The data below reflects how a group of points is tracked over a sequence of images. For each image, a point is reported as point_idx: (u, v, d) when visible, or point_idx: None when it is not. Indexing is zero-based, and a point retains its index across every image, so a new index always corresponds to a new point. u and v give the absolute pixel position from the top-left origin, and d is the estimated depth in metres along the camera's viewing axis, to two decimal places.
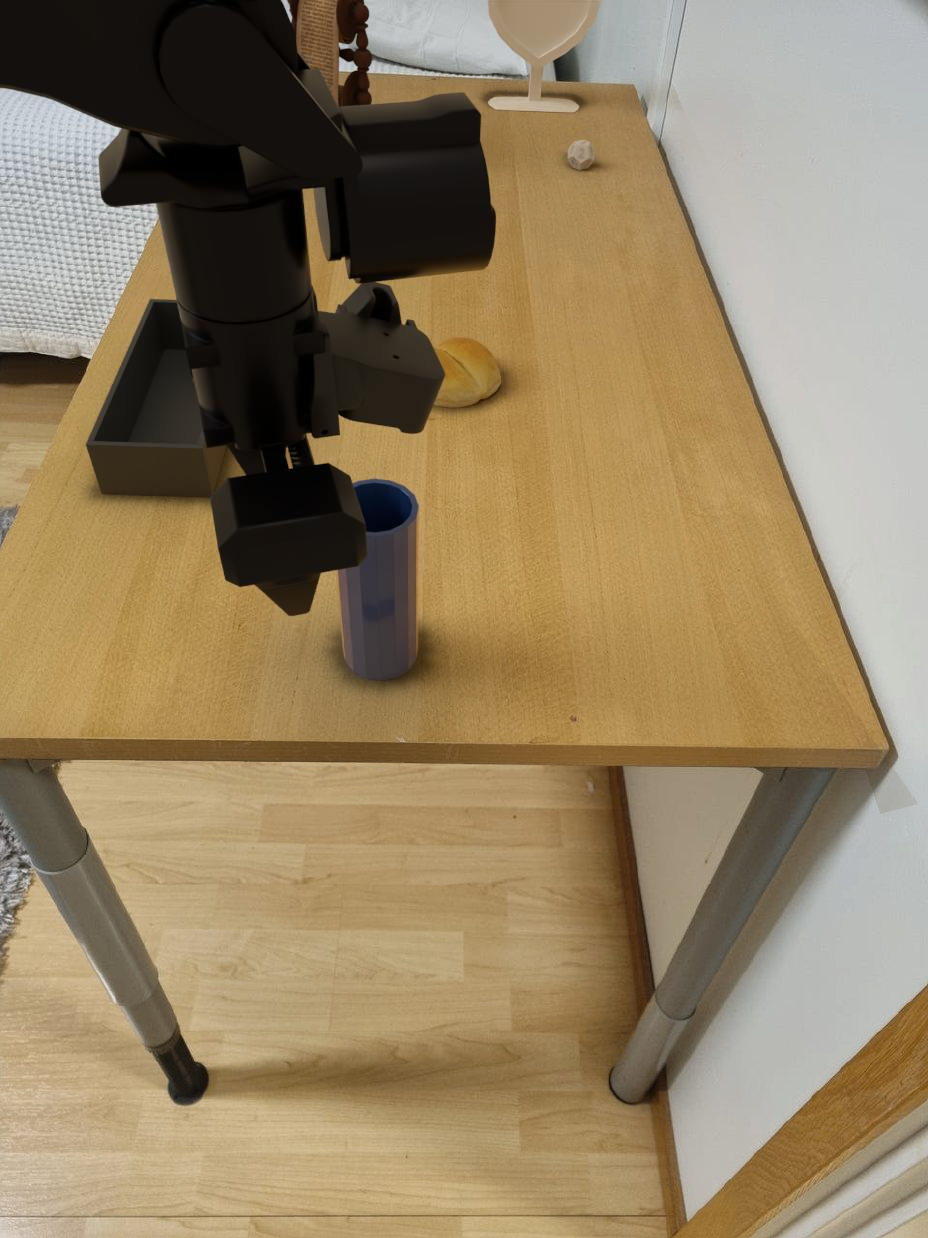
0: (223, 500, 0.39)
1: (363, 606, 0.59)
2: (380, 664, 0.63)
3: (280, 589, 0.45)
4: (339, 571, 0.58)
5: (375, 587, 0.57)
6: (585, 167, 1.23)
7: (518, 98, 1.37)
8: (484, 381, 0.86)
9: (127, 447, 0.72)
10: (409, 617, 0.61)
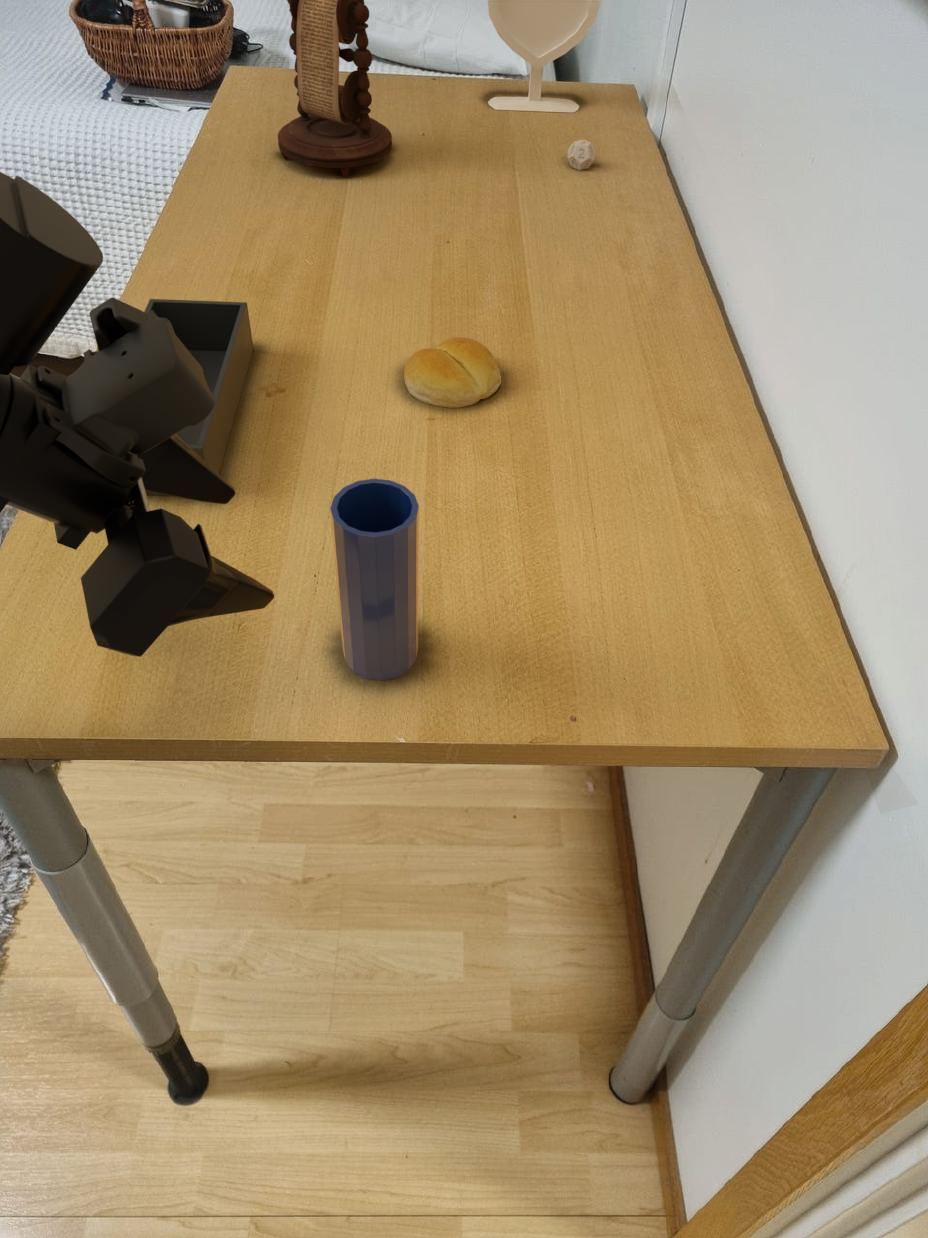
0: None
1: (363, 606, 0.59)
2: (380, 664, 0.63)
3: (220, 606, 0.49)
4: (339, 571, 0.58)
5: (375, 587, 0.57)
6: (585, 167, 1.23)
7: (518, 98, 1.37)
8: (484, 381, 0.86)
9: None
10: (409, 617, 0.61)
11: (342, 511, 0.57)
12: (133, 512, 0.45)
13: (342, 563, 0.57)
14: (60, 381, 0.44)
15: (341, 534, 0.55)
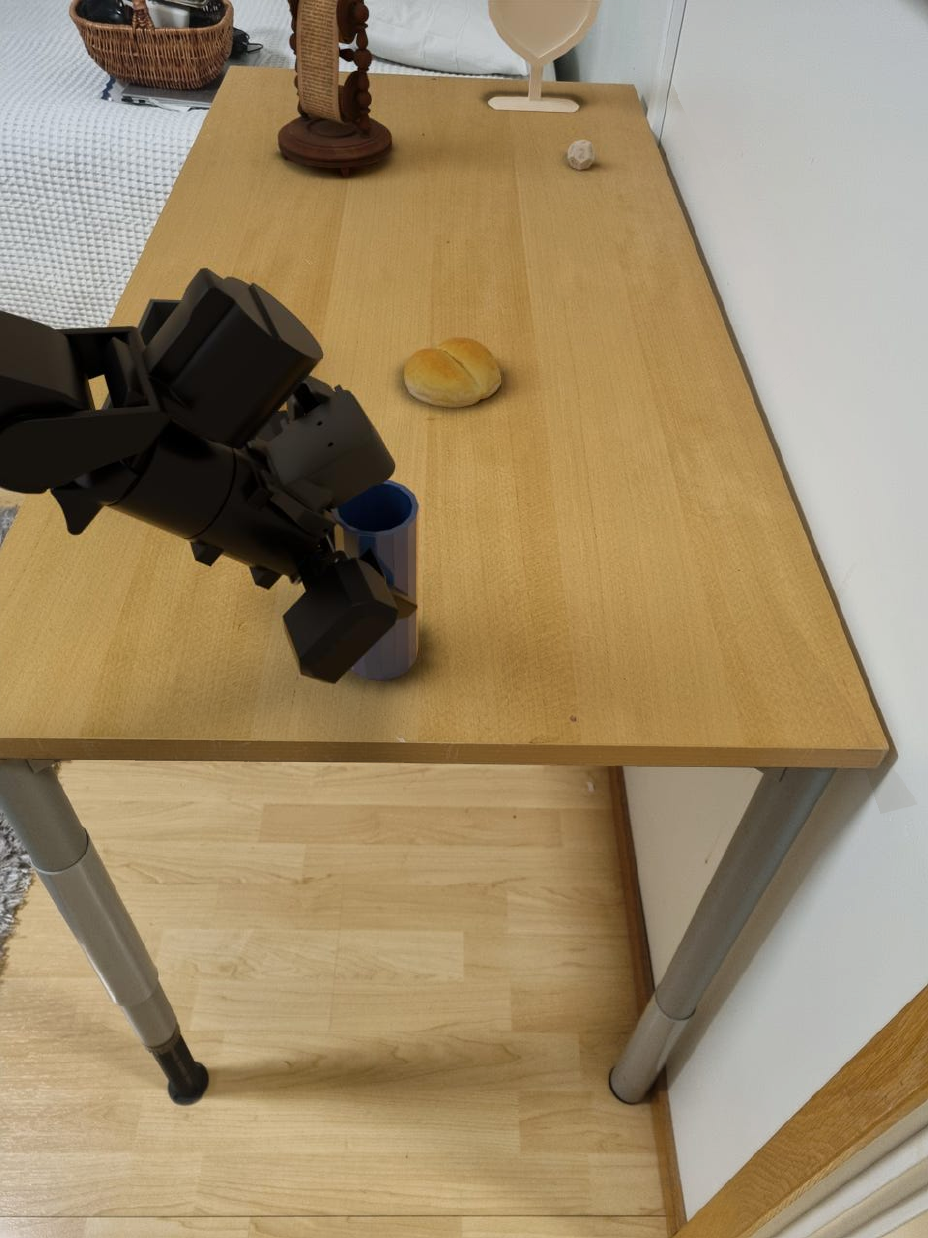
0: (287, 634, 0.51)
1: None
2: (380, 664, 0.63)
3: None
4: None
5: None
6: (585, 167, 1.23)
7: (518, 98, 1.37)
8: (484, 381, 0.86)
9: None
10: (409, 616, 0.61)
11: (342, 511, 0.57)
12: (322, 558, 0.53)
13: None
14: (263, 447, 0.52)
15: (341, 534, 0.55)
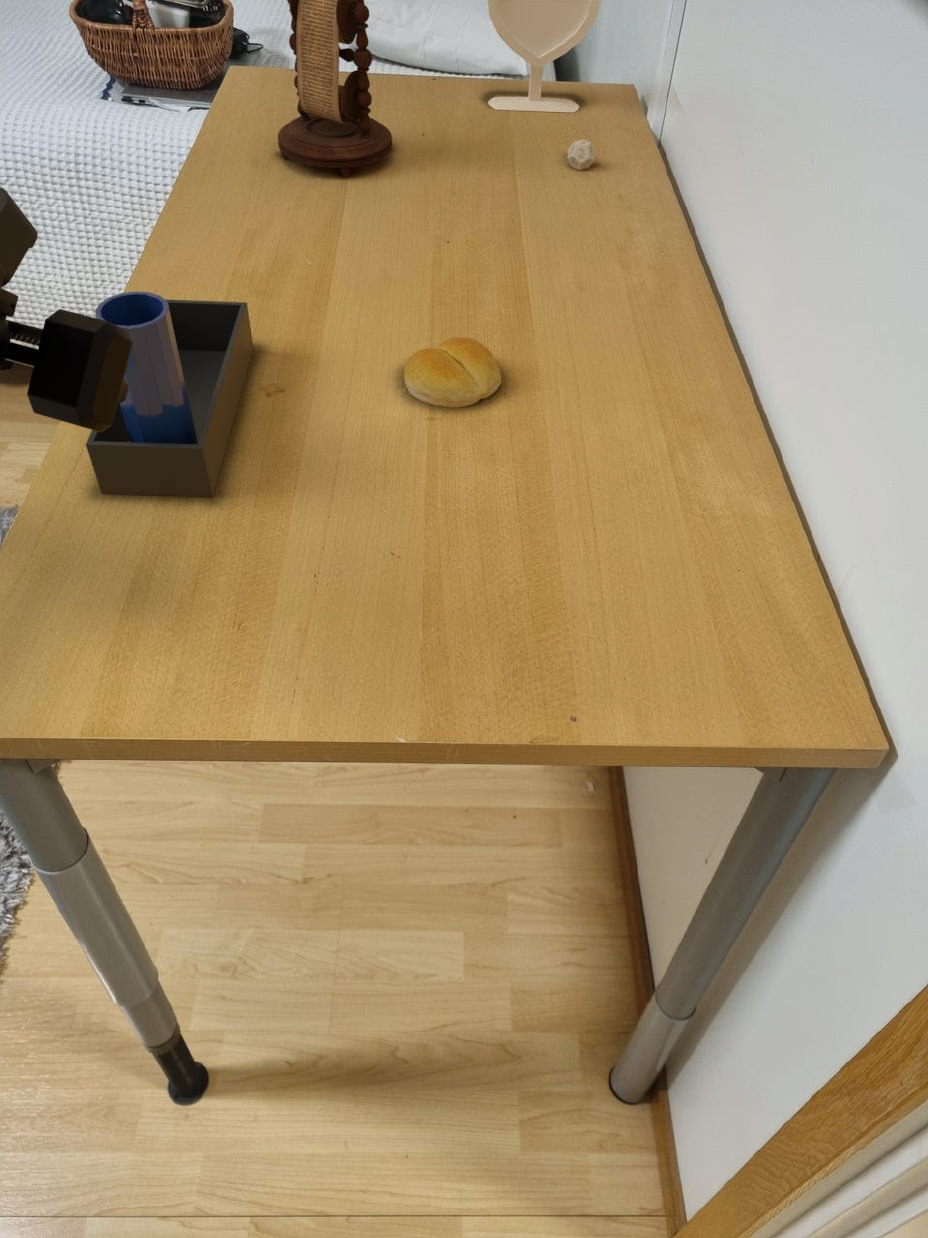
0: (44, 405, 0.53)
1: (160, 398, 0.72)
2: None
3: None
4: (129, 378, 0.70)
5: (165, 373, 0.71)
6: (585, 167, 1.23)
7: (518, 98, 1.37)
8: (484, 381, 0.86)
9: (127, 447, 0.72)
10: None
11: None
12: (21, 338, 0.55)
13: (132, 366, 0.69)
14: None
15: None
